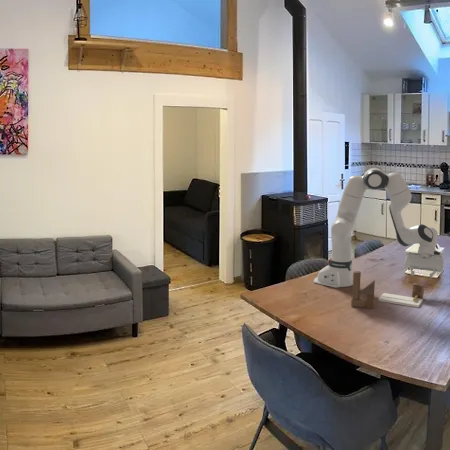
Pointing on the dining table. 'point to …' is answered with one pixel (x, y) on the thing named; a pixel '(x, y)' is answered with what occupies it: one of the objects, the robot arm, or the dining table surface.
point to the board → (400, 300)
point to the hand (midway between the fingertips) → (421, 275)
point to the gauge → (417, 291)
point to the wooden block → (367, 290)
